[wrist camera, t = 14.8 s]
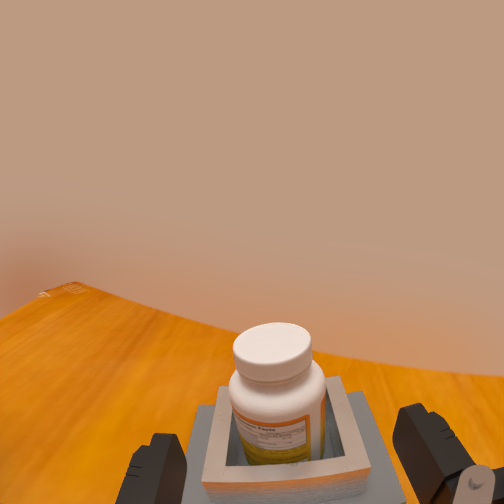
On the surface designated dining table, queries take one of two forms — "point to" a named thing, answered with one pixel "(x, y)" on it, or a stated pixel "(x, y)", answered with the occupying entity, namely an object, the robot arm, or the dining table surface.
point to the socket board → (294, 474)
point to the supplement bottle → (278, 395)
